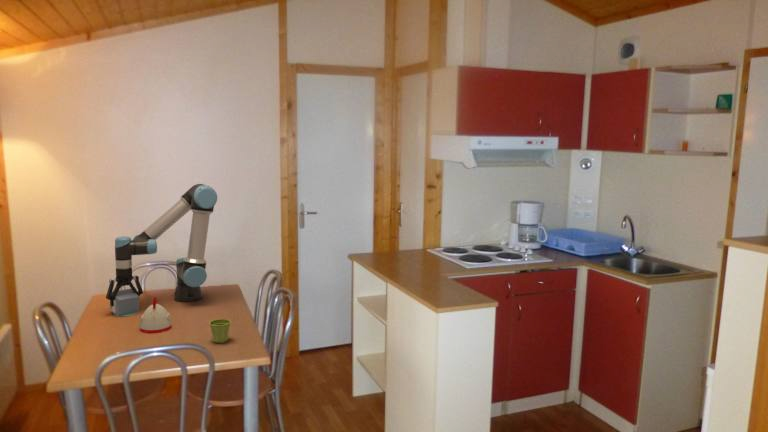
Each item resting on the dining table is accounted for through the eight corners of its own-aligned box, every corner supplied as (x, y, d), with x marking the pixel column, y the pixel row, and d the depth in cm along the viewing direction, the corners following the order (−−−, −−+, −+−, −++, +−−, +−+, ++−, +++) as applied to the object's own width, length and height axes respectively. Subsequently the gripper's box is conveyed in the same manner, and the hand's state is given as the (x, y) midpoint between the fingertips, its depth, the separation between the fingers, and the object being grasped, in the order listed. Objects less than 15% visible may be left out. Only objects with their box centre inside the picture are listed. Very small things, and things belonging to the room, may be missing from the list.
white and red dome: (137, 334, 260) (136, 302, 258) (142, 325, 274) (140, 294, 272) (170, 332, 264) (169, 301, 262) (172, 323, 277) (171, 293, 275)
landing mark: (144, 310, 295) (144, 310, 295) (128, 317, 284) (128, 317, 284) (123, 308, 298) (123, 308, 298) (107, 315, 287) (107, 315, 287)
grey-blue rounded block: (138, 312, 292) (139, 296, 290) (117, 316, 285) (118, 300, 282) (130, 303, 299) (131, 288, 296) (109, 307, 291) (110, 291, 289)
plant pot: (205, 340, 255) (205, 321, 253) (224, 335, 261) (224, 317, 260) (215, 346, 248) (215, 326, 247) (235, 341, 254) (234, 322, 253)
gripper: (143, 263, 299) (144, 304, 302) (97, 269, 282) (99, 312, 285) (149, 265, 293) (150, 307, 296) (103, 272, 277) (104, 316, 280)
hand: (125, 310), depth 291 cm, fingers closed on grey-blue rounded block, 10 cm apart
